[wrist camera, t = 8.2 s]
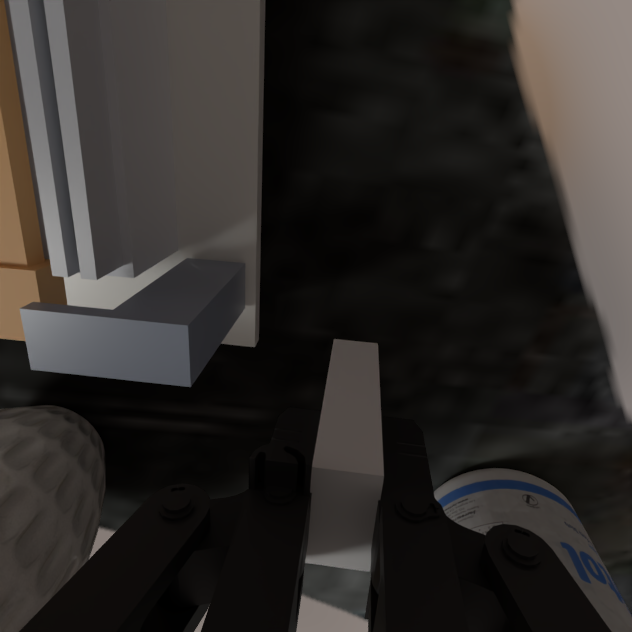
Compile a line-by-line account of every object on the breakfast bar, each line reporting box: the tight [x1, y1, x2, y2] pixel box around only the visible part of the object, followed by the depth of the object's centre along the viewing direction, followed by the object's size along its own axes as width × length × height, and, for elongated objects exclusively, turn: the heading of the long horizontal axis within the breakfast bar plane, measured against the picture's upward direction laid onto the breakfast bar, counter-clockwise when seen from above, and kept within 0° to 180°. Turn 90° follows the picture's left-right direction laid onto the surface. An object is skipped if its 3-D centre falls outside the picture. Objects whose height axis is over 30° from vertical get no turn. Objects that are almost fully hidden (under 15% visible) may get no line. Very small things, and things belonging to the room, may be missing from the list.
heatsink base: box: [4, 0, 265, 347], centre depth 18 cm, size 24×18×8 cm
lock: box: [20, 258, 245, 387], centre depth 20 cm, size 2×6×8 cm, turn 86°
